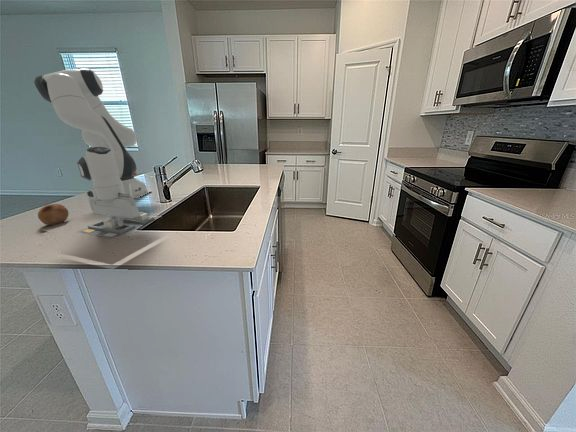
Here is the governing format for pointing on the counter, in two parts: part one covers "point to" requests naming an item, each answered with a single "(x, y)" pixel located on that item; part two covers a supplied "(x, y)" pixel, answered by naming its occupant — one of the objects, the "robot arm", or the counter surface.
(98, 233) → the switch bank
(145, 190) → the robot arm
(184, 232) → the counter surface
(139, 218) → the tab
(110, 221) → the tab
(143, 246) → the counter surface
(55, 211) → the onion
